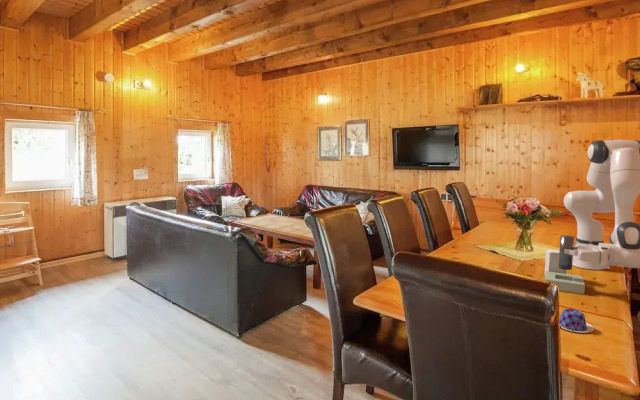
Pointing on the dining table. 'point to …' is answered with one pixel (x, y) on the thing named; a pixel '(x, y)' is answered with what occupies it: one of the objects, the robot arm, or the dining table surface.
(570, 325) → the purple patterned hat
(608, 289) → the dining table surface
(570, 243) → the peg
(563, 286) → the socket block
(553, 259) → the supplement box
